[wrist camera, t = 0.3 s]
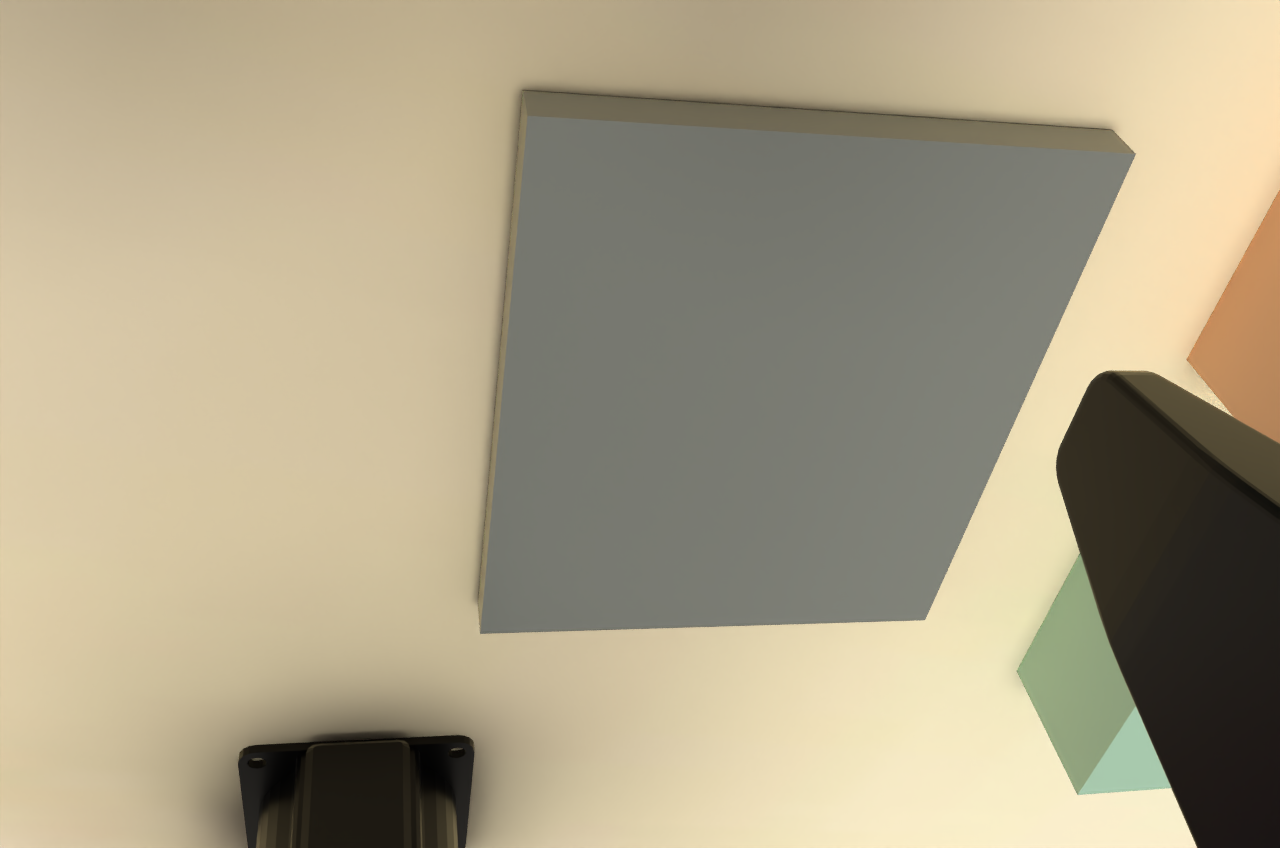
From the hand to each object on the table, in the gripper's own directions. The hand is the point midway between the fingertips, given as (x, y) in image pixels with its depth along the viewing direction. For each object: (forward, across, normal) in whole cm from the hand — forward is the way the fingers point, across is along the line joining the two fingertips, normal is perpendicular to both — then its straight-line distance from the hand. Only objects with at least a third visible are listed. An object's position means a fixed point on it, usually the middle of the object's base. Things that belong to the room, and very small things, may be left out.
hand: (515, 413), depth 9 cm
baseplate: (+14, -8, +11) cm, 19 cm away
